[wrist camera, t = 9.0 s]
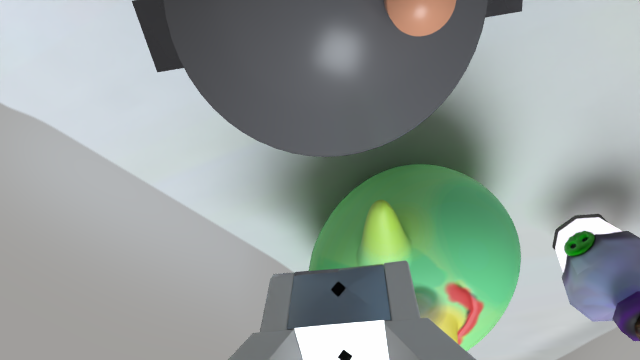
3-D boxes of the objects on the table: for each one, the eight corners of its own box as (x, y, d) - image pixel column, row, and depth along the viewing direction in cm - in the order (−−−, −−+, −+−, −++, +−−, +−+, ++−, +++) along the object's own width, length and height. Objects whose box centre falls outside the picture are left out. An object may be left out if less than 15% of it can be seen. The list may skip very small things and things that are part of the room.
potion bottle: (567, 189, 39) (651, 280, 28) (649, 213, 40) (760, 310, 29) (519, 258, 43) (577, 361, 32) (594, 279, 44) (675, 384, 33)
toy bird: (410, 306, 47) (438, 444, 34) (274, 244, 43) (248, 372, 30) (524, 185, 39) (617, 305, 26) (369, 97, 35) (387, 186, 22)
